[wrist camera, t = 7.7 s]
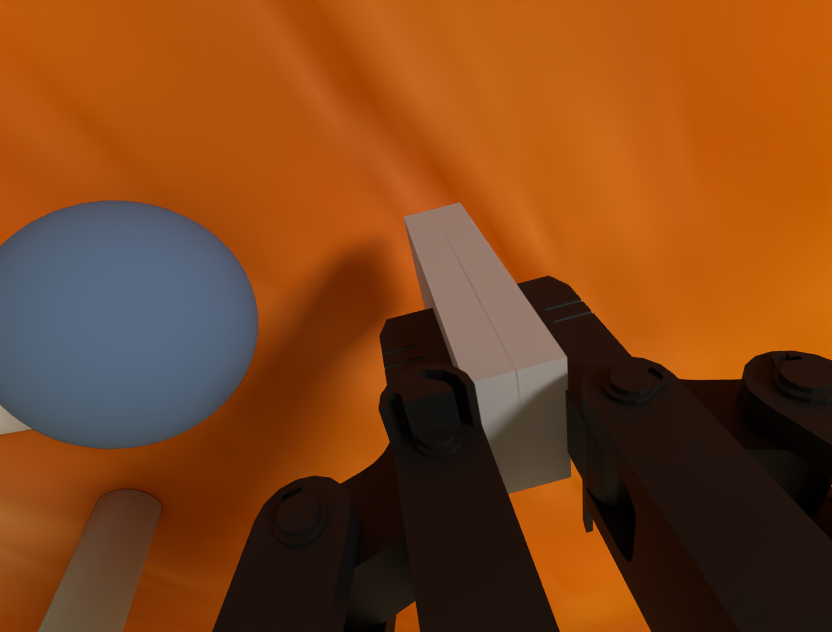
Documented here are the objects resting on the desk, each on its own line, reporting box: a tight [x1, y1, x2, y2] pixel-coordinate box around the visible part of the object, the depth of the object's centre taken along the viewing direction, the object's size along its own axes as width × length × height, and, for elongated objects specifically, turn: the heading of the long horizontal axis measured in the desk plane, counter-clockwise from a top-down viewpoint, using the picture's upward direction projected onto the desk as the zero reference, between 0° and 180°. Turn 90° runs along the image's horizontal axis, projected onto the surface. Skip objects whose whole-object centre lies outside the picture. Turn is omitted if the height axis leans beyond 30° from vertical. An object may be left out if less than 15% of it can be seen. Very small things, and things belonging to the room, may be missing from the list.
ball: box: [0, 201, 258, 449], centre depth 12 cm, size 6×6×6 cm
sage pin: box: [38, 489, 161, 632], centre depth 16 cm, size 2×2×8 cm
